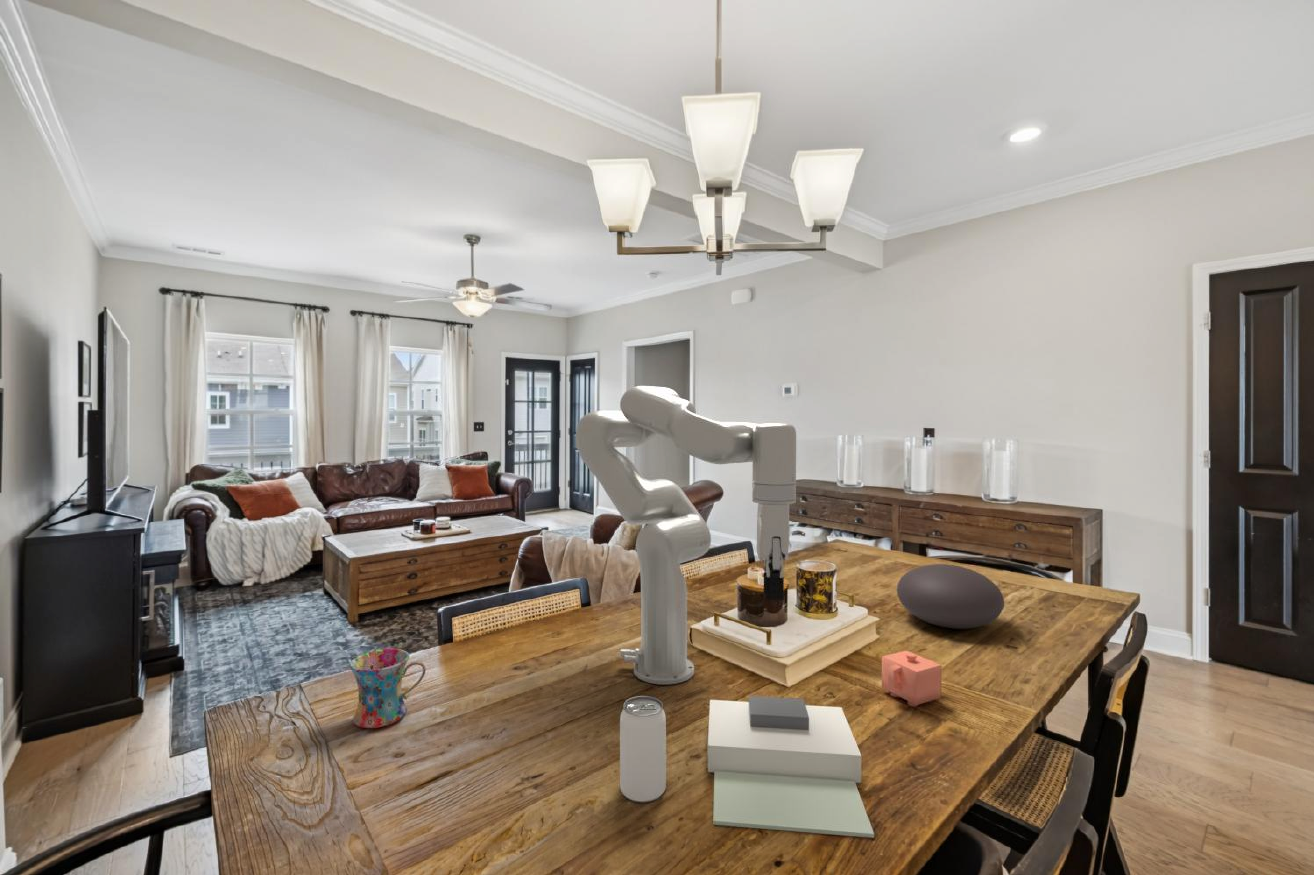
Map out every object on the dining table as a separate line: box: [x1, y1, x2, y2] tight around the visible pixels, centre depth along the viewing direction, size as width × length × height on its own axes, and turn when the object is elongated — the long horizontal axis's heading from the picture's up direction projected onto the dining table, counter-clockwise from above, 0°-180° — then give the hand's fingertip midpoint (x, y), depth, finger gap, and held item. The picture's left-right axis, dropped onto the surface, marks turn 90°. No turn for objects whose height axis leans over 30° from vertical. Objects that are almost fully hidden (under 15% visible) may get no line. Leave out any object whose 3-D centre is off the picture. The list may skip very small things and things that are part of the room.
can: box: [619, 695, 667, 804], centre depth 80 cm, size 6×6×12 cm
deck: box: [707, 699, 862, 784], centre depth 90 cm, size 22×14×4 cm, turn 83°
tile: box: [748, 695, 809, 730], centre depth 92 cm, size 9×6×2 cm, turn 83°
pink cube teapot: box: [881, 649, 943, 708], centre depth 108 cm, size 8×12×8 cm, turn 116°
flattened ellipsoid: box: [896, 563, 1005, 630], centre depth 147 cm, size 25×25×15 cm
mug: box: [349, 648, 427, 729], centre depth 100 cm, size 12×9×11 cm
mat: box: [712, 771, 875, 839], centre depth 77 cm, size 20×10×1 cm, turn 83°
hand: (773, 596), depth 100 cm, fingers closed
